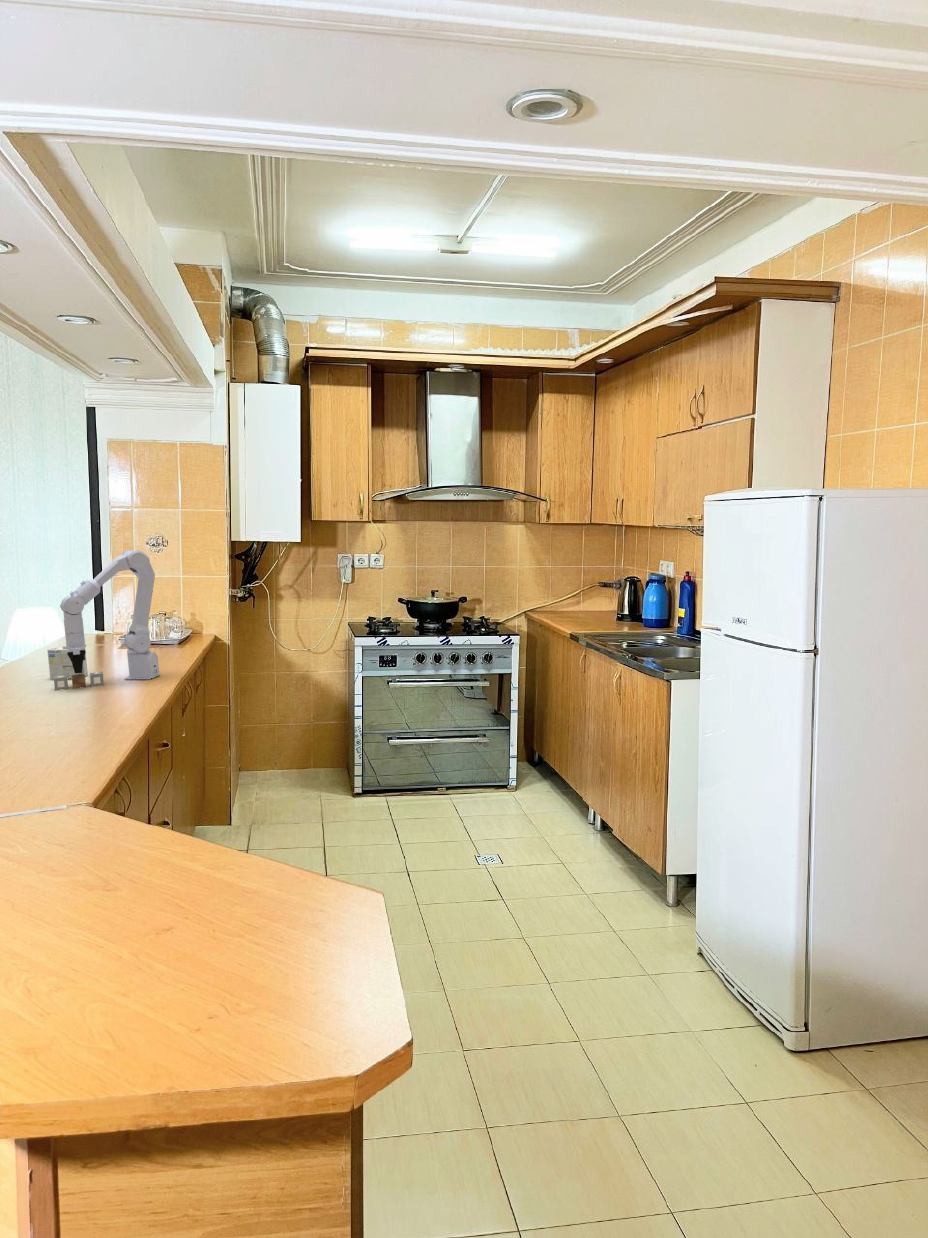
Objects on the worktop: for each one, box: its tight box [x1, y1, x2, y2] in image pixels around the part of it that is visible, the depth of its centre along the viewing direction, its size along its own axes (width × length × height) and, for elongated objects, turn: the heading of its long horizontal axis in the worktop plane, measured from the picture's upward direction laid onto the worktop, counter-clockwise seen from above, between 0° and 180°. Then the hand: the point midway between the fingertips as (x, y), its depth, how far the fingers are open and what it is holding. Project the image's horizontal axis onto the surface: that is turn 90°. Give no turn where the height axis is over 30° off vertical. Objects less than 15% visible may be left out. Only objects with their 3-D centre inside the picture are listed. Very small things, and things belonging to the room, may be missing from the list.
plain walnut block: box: [71, 674, 87, 689], centre depth 295 cm, size 4×4×4 cm
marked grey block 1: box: [53, 675, 69, 691], centre depth 293 cm, size 4×4×4 cm
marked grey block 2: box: [89, 671, 105, 687], centre depth 298 cm, size 4×4×4 cm
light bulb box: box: [47, 646, 89, 680], centre depth 312 cm, size 11×7×11 cm, turn 84°
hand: (78, 672), depth 295 cm, fingers closed
